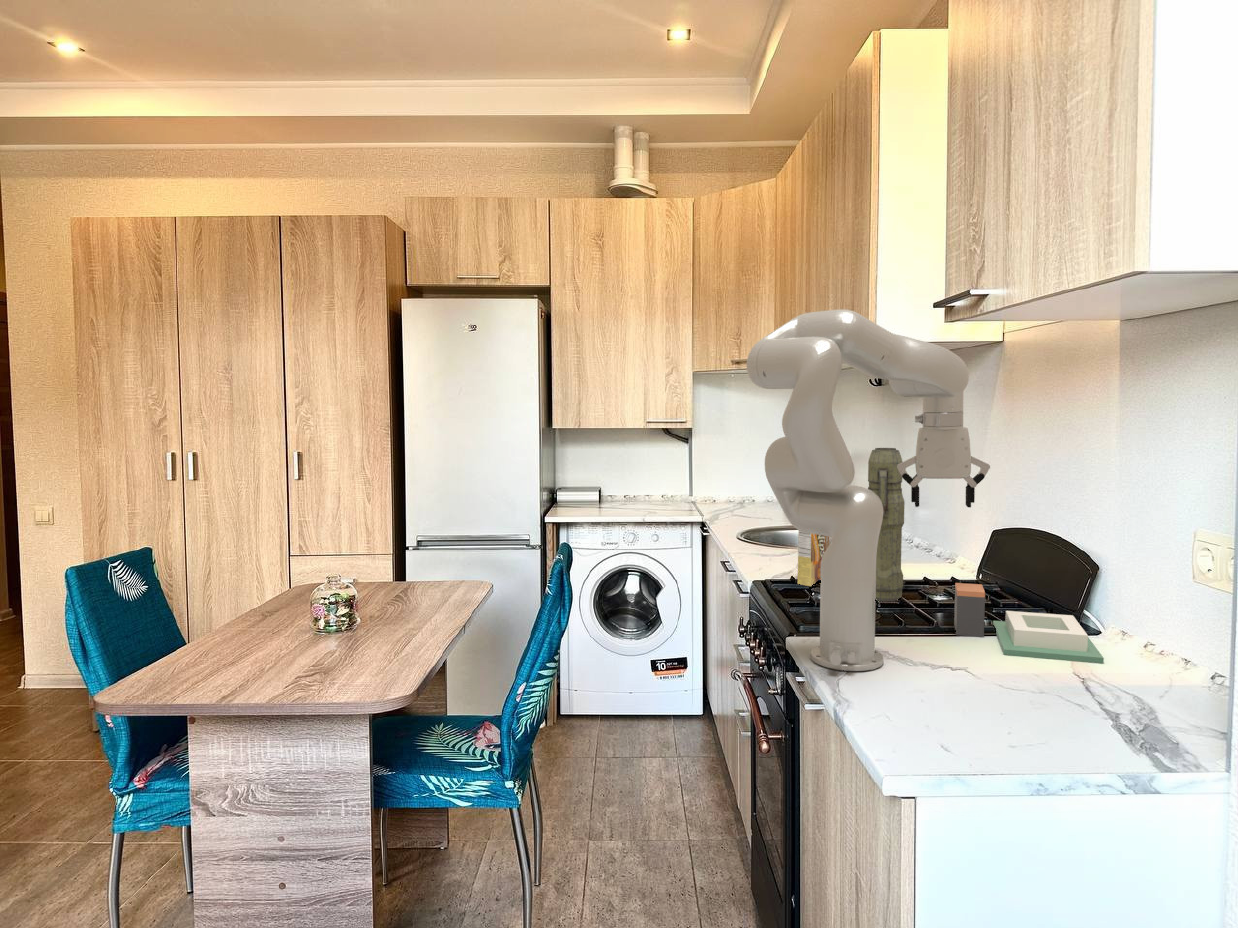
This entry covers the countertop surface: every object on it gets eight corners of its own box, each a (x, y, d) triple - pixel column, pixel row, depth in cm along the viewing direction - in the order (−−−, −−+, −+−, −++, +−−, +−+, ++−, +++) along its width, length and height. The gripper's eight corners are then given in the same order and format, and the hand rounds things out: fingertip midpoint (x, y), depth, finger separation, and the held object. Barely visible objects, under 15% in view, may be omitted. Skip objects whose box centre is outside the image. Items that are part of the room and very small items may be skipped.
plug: (983, 637, 161) (985, 592, 160) (956, 635, 162) (957, 590, 161) (980, 627, 167) (981, 584, 166) (954, 625, 169) (955, 582, 168)
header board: (1103, 663, 145) (1104, 641, 144) (1003, 654, 150) (1004, 633, 150) (1080, 631, 163) (1081, 612, 163) (992, 625, 169) (993, 606, 168)
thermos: (901, 592, 197) (904, 447, 194) (903, 604, 186) (907, 450, 183) (863, 589, 200) (865, 446, 197) (863, 601, 188) (865, 449, 185)
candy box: (814, 578, 212) (815, 519, 211) (829, 580, 210) (830, 521, 208) (796, 584, 206) (797, 524, 205) (811, 587, 203) (812, 525, 202)
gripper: (897, 423, 162) (897, 508, 164) (992, 421, 157) (991, 509, 158) (896, 420, 169) (896, 502, 171) (987, 418, 164) (986, 503, 166)
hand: (942, 506), depth 165 cm, fingers open, 9 cm apart
